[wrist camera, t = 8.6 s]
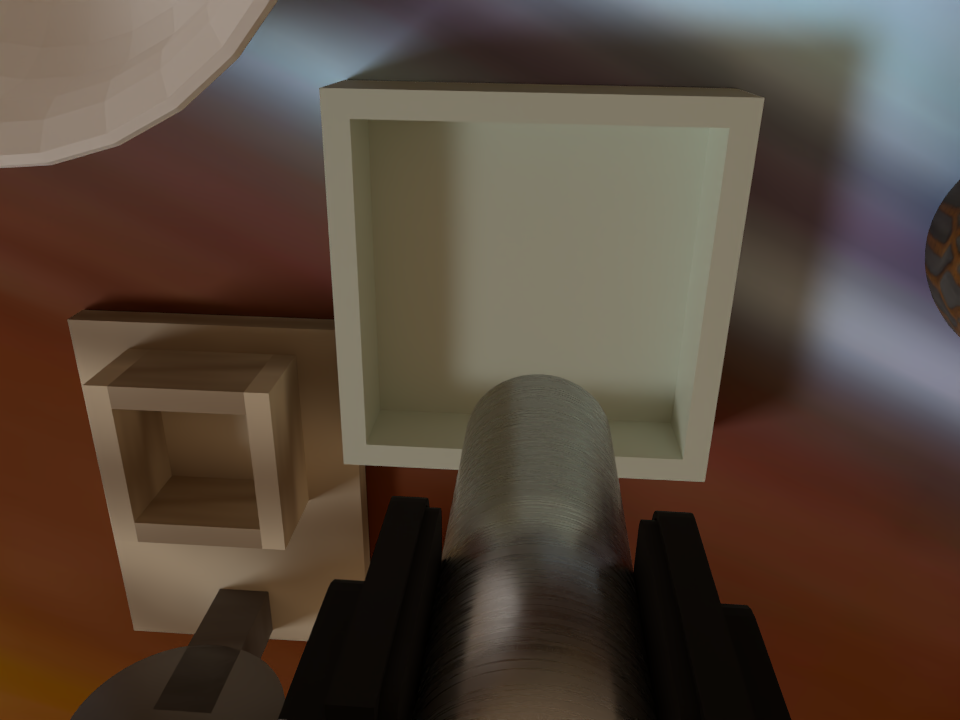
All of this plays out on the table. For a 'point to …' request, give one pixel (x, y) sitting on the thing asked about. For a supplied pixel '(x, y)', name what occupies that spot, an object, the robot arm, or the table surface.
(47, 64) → the bowl
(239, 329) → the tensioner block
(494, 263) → the tray
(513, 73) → the table surface
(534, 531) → the lock pin
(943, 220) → the vase
